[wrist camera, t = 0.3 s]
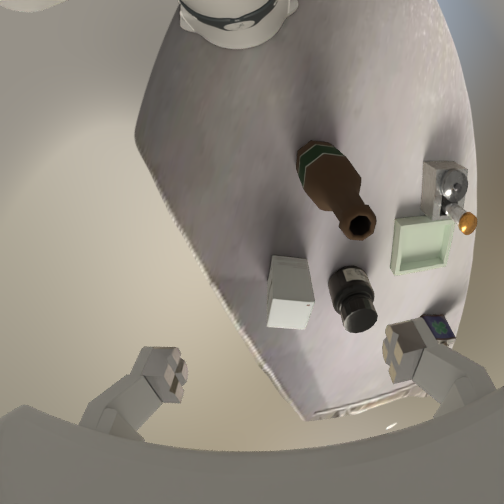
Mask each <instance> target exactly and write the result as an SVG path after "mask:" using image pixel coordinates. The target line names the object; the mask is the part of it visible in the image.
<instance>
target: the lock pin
mask: <svg viewBox="0 0 504 504" xmlns="http://www.w3.org/2000/svg"><path fill="white" fill-rule="evenodd" d="M441 210H442V211H443V212H444V213H445V214H446V215H448V216H449V217H450V218H451V219H452V220H453V221H454V222H455V223H456V224H457V225H458V226H459V229H460V230H461V231H462V232H463V233H464V234H465V235H469V234H471V233H472V232H473V231H474V230H475V228H476V226H477V218H476V217H475V216H474V215H473V214H472V213H471V212H466V211H465V210H464V209H463V208H461V207H460V206H459V205H458V204H457V203H455V202H450V201H449V200H447V199H446V198H445V197H444V196H443V195H442V201H441Z"/></svg>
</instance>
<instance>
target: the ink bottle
mask: <svg viewBox="0 0 504 504" xmlns="http://www.w3.org/2000/svg"><path fill="white" fill-rule="evenodd" d="M328 287H329V292H330V296H331V299H332V303H333V307H334V309H335V311H336V312H337V313H338V314H340V315H341V318H342V322H343V326H344V328H345V330H347V331H349V332H350V333H359V332H363V331H366V330H368V329H369V328H371V327H372V326H373V325H374V324H375V322H376V321H377V317H378V315H377V313H376V310H375V308H374V305H373V301H374V291H373V289H372V286H371V284H370V282H369V279H368V277H367V275H366V273H365V272H364V271H363V270H362V269H361V268H359V267H356V266H347V267H344V268H341V269H339V270H338V271H336V272H335V273H334V274H333V275H332V277H331V278H330V280H329V283H328Z"/></svg>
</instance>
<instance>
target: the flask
mask: <svg viewBox="0 0 504 504" xmlns="http://www.w3.org/2000/svg"><path fill="white" fill-rule="evenodd" d="M420 317H421V318H423V319H424V321H425V322H426V324H427V326H428V327H429V329H430V330H431V332H432V334H433V335H434V337H435V339H436V340H437V342H438V344H443V345H445V346H447V347H448V346H449V344H452V343H454V342H455V341H456V337H455V335H454V334H453V332H452V330H451V328H450V326H449V324H448V322H447V320H446V318H445V316H444V315H442V314H440V315H436V314H435V315H428V314H427V315H425V314H424V315H422V316H420ZM420 317H419V318H420Z"/></svg>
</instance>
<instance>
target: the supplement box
mask: <svg viewBox="0 0 504 504" xmlns="http://www.w3.org/2000/svg"><path fill="white" fill-rule="evenodd" d="M314 303H315V299H314V293H313V288H312V282H311V277H310V272H309V266H308V261H307V259H302V258H293V257H285V256H276V255H273V256H272V261H271V267H270V273H269V278H268V282H267V327H276V328H290V329H303V330H305V328H306V326H307V323H308V320H309V317H310V315H311V312H312V309H313V306H314Z"/></svg>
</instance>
